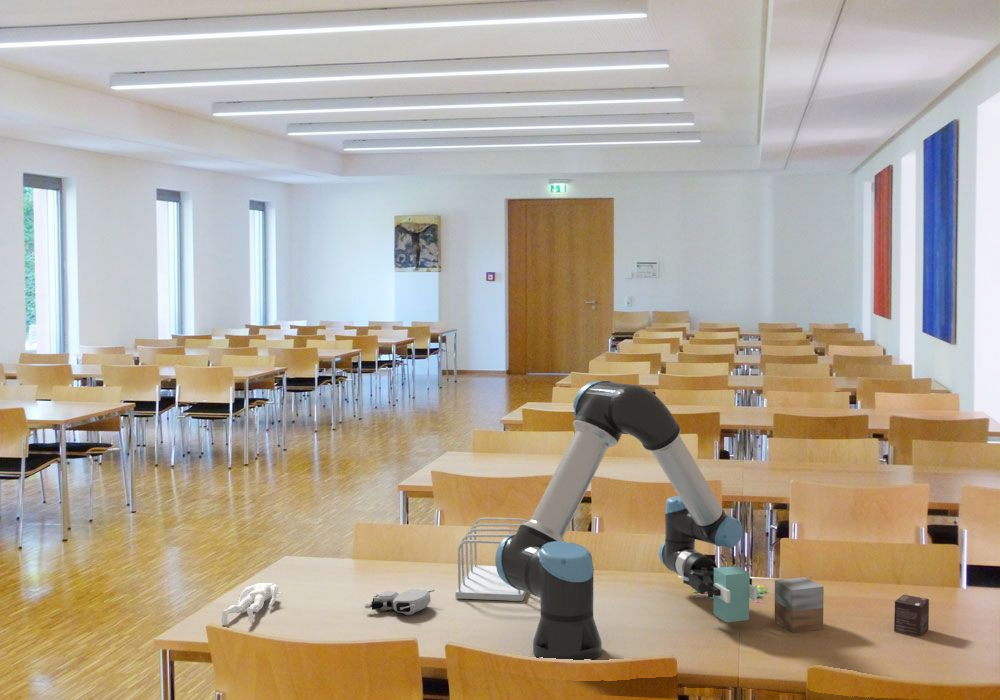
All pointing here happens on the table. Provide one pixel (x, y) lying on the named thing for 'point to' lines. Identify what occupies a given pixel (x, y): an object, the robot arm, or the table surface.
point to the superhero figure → (253, 600)
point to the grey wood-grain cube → (799, 604)
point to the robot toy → (401, 601)
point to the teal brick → (732, 594)
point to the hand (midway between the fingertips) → (742, 595)
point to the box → (911, 615)
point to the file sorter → (485, 569)
